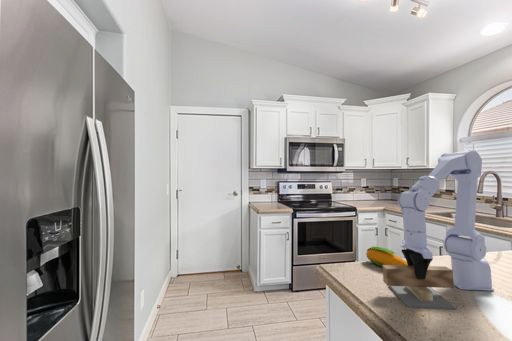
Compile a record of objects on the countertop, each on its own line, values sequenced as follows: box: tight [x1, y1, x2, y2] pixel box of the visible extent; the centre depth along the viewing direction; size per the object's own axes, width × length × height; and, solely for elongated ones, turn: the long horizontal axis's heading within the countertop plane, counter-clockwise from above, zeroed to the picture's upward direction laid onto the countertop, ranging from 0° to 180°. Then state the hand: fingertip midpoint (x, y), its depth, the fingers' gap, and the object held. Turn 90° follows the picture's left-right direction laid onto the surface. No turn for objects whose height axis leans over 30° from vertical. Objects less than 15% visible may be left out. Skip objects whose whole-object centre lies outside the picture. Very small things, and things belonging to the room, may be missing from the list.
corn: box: [365, 246, 408, 268], centre depth 101 cm, size 7×8×20 cm
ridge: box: [406, 286, 433, 302], centre depth 75 cm, size 3×10×4 cm, turn 171°
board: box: [388, 286, 457, 310], centre depth 75 cm, size 12×14×1 cm
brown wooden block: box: [382, 265, 455, 289], centre depth 75 cm, size 18×4×5 cm, turn 81°
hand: (417, 276), depth 75 cm, fingers closed on brown wooden block, 3 cm apart
